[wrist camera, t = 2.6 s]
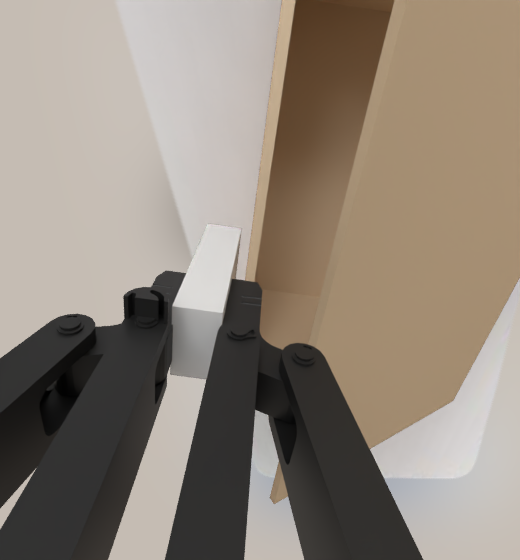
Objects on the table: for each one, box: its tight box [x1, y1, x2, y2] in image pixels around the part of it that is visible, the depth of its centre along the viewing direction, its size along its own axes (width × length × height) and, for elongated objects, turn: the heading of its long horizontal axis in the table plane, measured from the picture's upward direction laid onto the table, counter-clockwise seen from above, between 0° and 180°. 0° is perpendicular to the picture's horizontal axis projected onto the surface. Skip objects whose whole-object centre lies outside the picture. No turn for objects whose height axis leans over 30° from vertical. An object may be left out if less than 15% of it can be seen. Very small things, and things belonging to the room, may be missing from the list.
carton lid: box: [270, 0, 520, 504], centre depth 18 cm, size 24×16×1 cm
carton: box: [245, 0, 394, 350], centre depth 27 cm, size 24×16×11 cm, turn 172°
